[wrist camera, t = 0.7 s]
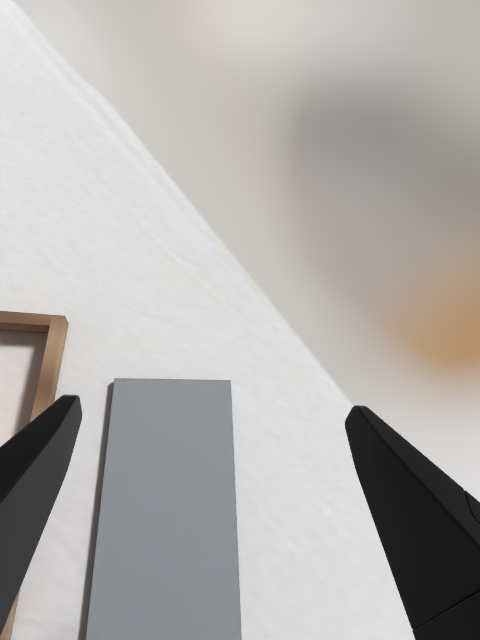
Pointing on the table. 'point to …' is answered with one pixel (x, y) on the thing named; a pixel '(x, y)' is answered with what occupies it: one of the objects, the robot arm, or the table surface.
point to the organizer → (46, 379)
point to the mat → (167, 515)
